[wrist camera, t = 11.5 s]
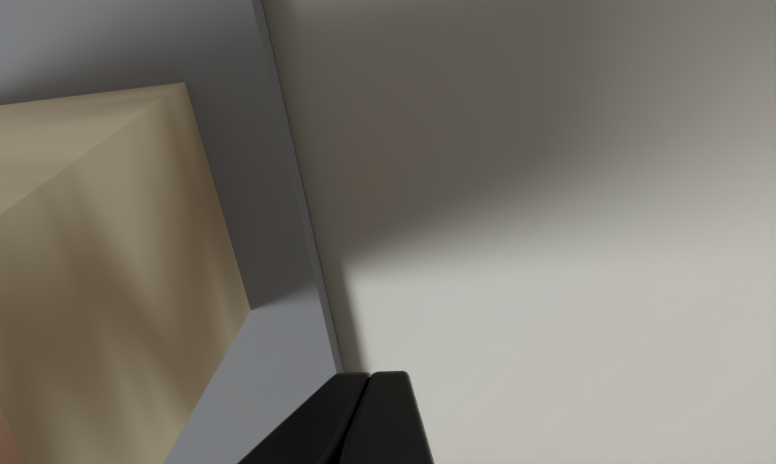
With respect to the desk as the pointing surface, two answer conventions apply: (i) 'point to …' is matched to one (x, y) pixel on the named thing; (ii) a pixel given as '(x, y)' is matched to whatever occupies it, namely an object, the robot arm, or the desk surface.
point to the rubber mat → (230, 175)
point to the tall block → (109, 276)
